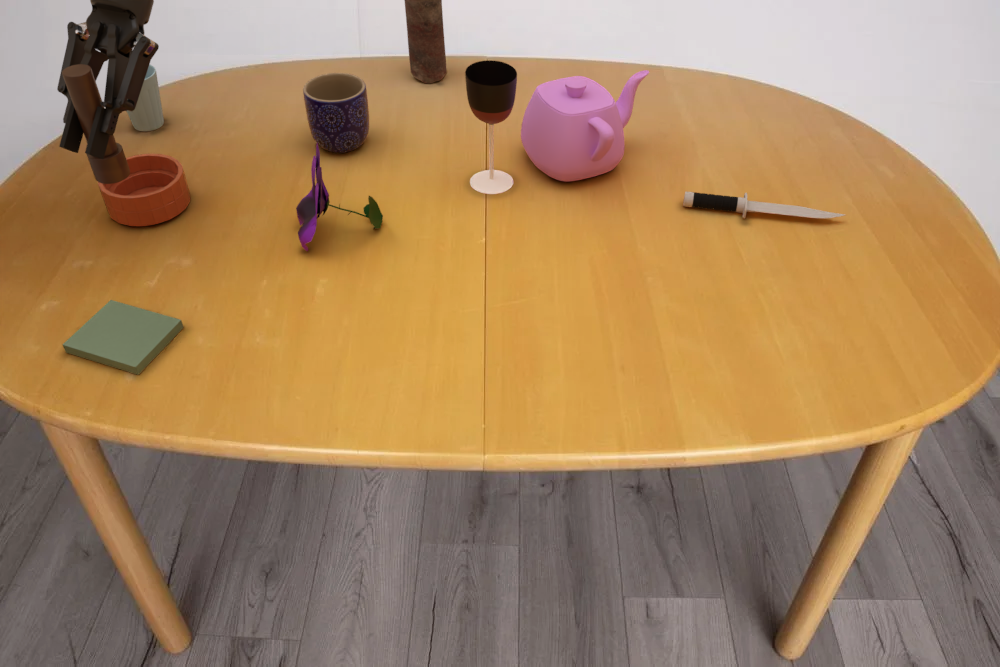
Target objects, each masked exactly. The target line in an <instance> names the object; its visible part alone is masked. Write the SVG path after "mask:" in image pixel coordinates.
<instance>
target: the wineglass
mask: <svg viewBox="0 0 1000 667" xmlns="http://www.w3.org/2000/svg"><path fill="white" fill-rule="evenodd" d="M464 76H465V88H466V96H467V97H466V98H467V102H468V106H469V109H470V110H471V113H472V114H473V116H475V118H476V119H478V120H479V121H481V122H483V123H484V124H488V142H489V143H488V165H489V166H488V168H489V169H485V170H484V169H483V170H480V171H478V172H476V173H474V174H473V175H472V176H471V177H470V179H469V185H470V187H471V188H472V189H473V190H475V191H477V192H478V193H481V194H486V195H497V194H502V193H505V192H507V191H508V190H510V189H511V188H512V187H513V185H514V179H513V176H512V175H510V174H509V173H507V172H505V171H503V170H498V169H495V154H494V153H495V150H494V149H495V139H494V137H495V135H494V132H495V131H494V130H495V128H494V127H495V126H494V125H497V124H500V123H502V122H504V121H505V120H507V119H508V118H509V116H510V115H511V113H512V111H513V108H514V105H515V100H516V95H517V94H516V93H517V83H518V82H517V81H518V72H517V70H516V68H514V67H513V65H510V64H508V63H507V62H504V61H499V60H490V59H489V60H480V61H475V62H473V63H471V64H470V65H468V66H467V67H466V68H465V70H464Z"/></svg>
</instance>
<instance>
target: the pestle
mask: <svg viewBox="0 0 1000 667" xmlns="http://www.w3.org/2000/svg"><path fill="white" fill-rule="evenodd" d="M62 75H63V77H64V80H65V83H66V86H67V89H68V91H69V94H70V97H71V100H72V102H73V105H74V108H75V111H76V113H77V116H78V119H79V122H80V124H81V127H82V130H83V136H84V138H85V142H86V144H87V143H88V140H89V136H90V132H91V128H92V125H93V121H94V117H95V114H96V110H97V106H99V107H103V106H102V105H101V104H100V102H103V99H102V97H101V93H100V90H99V87H98V85H97V80H96V81H95V78H94V75H93V72H92V69H91V67H90V66H88V65H84V64H78V65H72V66H69V67H67V68H65V69H64V70H63V71H62ZM103 108H105V107H103ZM86 158H87V160H88V162H89V165H90V166H89V167H90V168H91V171H92V173H93V177H94V179H95V181H96V182H97V183H98V182H100V183H103V184H113V183H117V182H120V181H122V180H124V179H126V178H127V177H128V176H129V175H130V169H129V166H128V163H127V160H126V158H127V157H126V154H125V150H124V148H123V146H122V144H120V143H119V142H117V141H116V138H115V135H114V134H113V135H110V137H109V140H108V144H107V148H106V152H105V155H104V159H100V158H97V157H94V156H92V155H89V154H86Z"/></svg>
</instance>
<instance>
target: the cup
mask: <svg viewBox="0 0 1000 667" xmlns="http://www.w3.org/2000/svg"><path fill="white" fill-rule="evenodd" d="M127 100H128V99H127ZM126 113H127V115H128V117H129V120H130V123H131V125H132V126H133V128H134V129H135V130H136V131H138V132H151V131H152V132H153V131H155V130H157V129H160V128H161V127H163V126H164V124H165V118H164V113H163V105H162V100H161V93H160V87H159V80H158V74H157V69H156V67H155V66H154V65H152V64H151V63H150V64H149V67H148V70H147V73H146V76H145V79H144V83H143V86H142V89H141V92H140V95H139V98H138V101H137V104H136V107H135V110H133V111H129V110H127V111H126Z"/></svg>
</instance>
